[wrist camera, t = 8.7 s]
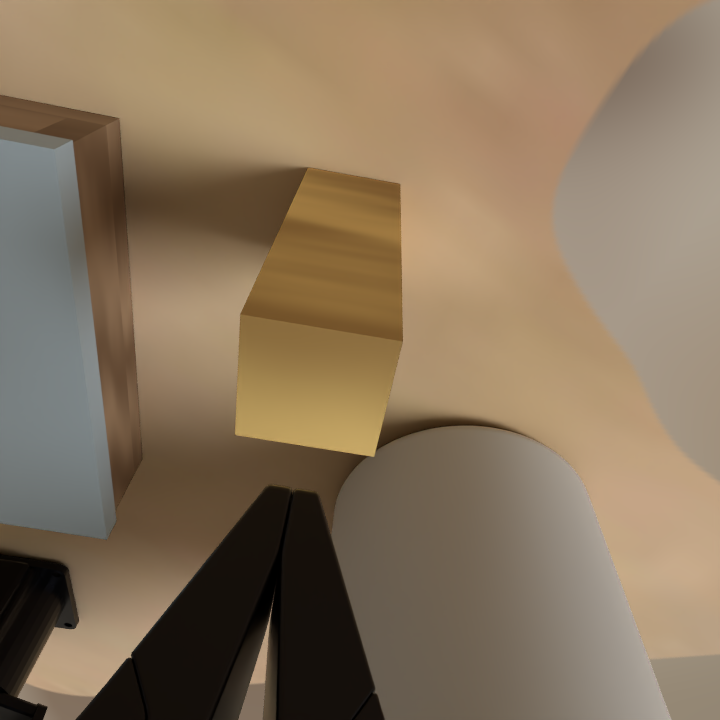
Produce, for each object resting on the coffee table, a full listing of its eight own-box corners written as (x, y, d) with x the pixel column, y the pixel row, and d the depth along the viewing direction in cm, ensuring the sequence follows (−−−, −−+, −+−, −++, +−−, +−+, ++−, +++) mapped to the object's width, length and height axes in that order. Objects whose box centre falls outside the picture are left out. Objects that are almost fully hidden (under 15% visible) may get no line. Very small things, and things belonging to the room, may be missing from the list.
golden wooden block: (383, 267, 21) (373, 456, 13) (298, 253, 21) (234, 434, 13) (400, 184, 19) (402, 341, 11) (308, 167, 19) (240, 314, 11)
